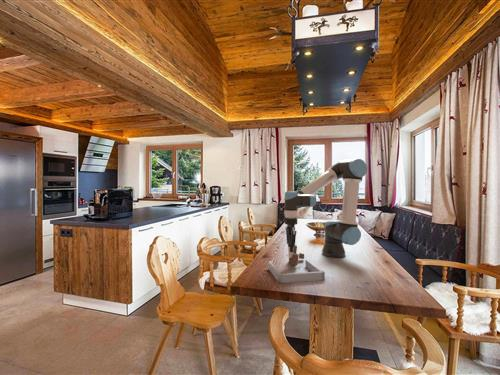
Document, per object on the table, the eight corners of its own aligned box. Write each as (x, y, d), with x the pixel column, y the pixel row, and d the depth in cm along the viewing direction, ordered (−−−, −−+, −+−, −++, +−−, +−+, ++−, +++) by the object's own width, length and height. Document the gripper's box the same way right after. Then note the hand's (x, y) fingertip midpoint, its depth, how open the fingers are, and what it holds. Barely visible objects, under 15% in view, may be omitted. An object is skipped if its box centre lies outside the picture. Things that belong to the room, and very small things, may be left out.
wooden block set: (299, 269, 145) (301, 251, 144) (284, 266, 147) (286, 248, 147) (303, 260, 162) (305, 244, 161) (290, 258, 164) (292, 242, 164)
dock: (307, 266, 149) (307, 259, 149) (324, 280, 128) (324, 272, 128) (268, 268, 145) (268, 261, 145) (279, 283, 124) (279, 275, 124)
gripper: (281, 216, 155) (281, 254, 155) (288, 219, 142) (288, 260, 142) (293, 215, 156) (293, 253, 156) (301, 218, 143) (300, 260, 143)
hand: (290, 257), depth 149 cm, fingers closed
